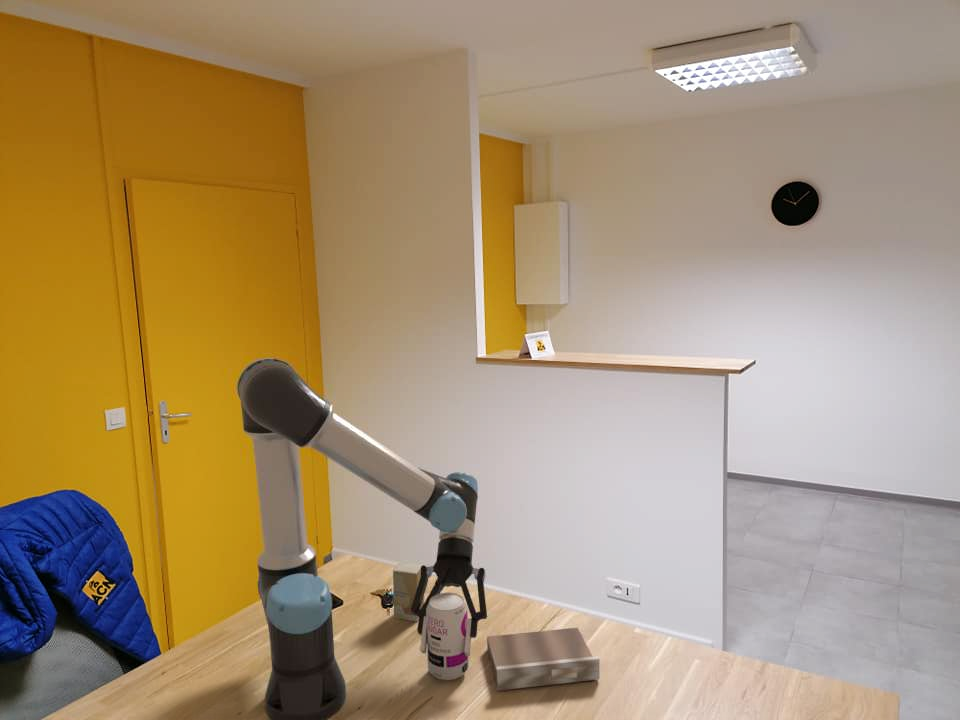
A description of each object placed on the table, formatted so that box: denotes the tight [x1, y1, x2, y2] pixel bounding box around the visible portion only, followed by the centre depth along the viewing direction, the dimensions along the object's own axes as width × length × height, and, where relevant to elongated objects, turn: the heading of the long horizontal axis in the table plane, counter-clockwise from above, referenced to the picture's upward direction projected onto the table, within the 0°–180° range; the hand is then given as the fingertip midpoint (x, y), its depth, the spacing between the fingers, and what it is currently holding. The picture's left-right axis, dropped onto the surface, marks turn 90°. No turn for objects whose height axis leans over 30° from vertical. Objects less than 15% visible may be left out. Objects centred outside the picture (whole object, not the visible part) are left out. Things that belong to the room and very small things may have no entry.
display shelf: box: [486, 627, 600, 691], centre depth 144 cm, size 20×15×5 cm
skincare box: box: [392, 562, 425, 623], centre depth 164 cm, size 6×4×12 cm
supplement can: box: [426, 592, 470, 681], centre depth 141 cm, size 8×8×15 cm
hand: (445, 653), depth 138 cm, fingers closed on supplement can, 8 cm apart
